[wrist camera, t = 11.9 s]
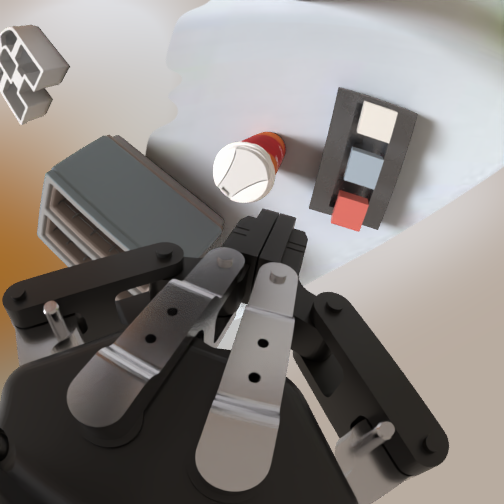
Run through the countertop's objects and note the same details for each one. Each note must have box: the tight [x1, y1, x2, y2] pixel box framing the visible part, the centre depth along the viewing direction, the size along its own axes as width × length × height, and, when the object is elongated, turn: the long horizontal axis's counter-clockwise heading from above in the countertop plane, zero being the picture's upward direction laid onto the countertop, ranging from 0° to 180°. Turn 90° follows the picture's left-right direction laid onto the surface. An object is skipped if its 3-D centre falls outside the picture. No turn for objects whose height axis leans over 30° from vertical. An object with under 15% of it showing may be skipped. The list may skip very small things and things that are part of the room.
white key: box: [357, 101, 398, 143], centre depth 36 cm, size 4×4×5 cm
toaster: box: [37, 135, 224, 301], centre depth 53 cm, size 19×35×20 cm, turn 53°
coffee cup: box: [213, 132, 285, 203], centre depth 42 cm, size 8×8×15 cm
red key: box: [331, 190, 369, 232], centre depth 44 cm, size 4×4×5 cm
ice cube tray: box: [0, 25, 70, 125], centre depth 45 cm, size 17×28×9 cm, turn 41°
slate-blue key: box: [344, 146, 384, 190], centre depth 40 cm, size 4×4×5 cm
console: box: [309, 87, 417, 230], centre depth 43 cm, size 20×12×4 cm, turn 171°
